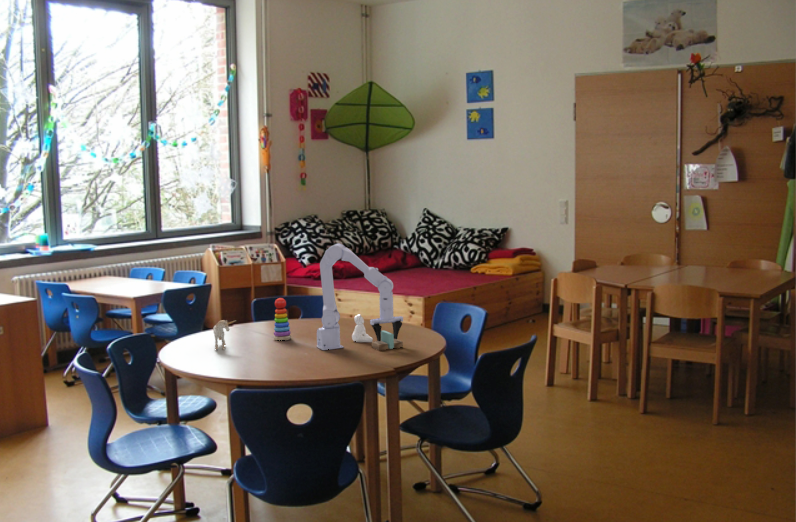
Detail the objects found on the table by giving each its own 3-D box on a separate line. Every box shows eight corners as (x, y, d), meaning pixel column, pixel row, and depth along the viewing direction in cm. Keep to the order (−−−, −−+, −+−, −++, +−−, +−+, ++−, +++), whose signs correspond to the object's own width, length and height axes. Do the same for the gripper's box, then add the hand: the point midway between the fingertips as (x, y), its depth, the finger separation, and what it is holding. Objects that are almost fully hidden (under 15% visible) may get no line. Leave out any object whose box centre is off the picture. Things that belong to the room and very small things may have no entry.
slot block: (378, 350, 312) (378, 344, 312) (371, 347, 318) (371, 341, 318) (403, 347, 317) (402, 341, 317) (395, 344, 323) (395, 338, 323)
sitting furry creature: (373, 342, 329) (373, 315, 327) (354, 344, 326) (353, 316, 325) (368, 338, 338) (367, 311, 336) (349, 339, 335) (348, 313, 334)
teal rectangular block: (390, 348, 313) (390, 334, 313) (381, 344, 321) (380, 330, 321) (393, 348, 314) (393, 334, 313) (384, 344, 322) (384, 330, 321)
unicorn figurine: (221, 354, 313) (219, 322, 311) (205, 346, 329) (203, 315, 327) (237, 351, 316) (236, 320, 315) (221, 343, 333) (219, 313, 331)
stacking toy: (293, 337, 342) (291, 296, 340) (289, 341, 334) (287, 299, 332) (276, 337, 343) (274, 296, 341) (271, 341, 335) (269, 299, 333)
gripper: (374, 311, 309) (375, 343, 311) (406, 307, 315) (406, 339, 317) (367, 308, 315) (368, 340, 317) (398, 305, 322) (399, 336, 323)
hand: (387, 339), depth 317 cm, fingers open, 7 cm apart
